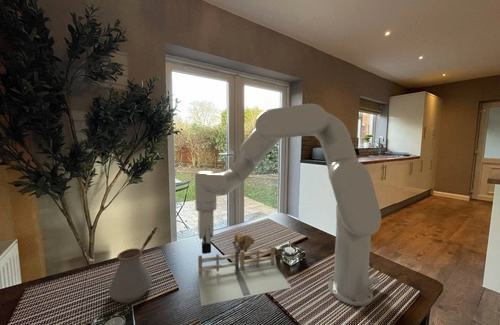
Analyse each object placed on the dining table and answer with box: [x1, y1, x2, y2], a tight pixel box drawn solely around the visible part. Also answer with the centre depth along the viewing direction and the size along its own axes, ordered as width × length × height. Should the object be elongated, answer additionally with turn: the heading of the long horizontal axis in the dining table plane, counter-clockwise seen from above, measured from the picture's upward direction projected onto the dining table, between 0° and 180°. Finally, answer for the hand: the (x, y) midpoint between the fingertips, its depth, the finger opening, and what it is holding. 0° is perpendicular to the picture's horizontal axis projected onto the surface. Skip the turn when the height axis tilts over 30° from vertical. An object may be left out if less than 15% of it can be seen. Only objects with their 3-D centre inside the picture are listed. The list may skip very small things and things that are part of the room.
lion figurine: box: [231, 232, 256, 253], centre depth 91 cm, size 15×5×9 cm, turn 35°
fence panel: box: [197, 250, 240, 275], centre depth 75 cm, size 14×1×6 cm, turn 107°
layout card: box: [197, 260, 292, 307], centre depth 73 cm, size 28×18×1 cm, turn 107°
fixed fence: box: [239, 245, 276, 270], centre depth 79 cm, size 13×1×7 cm, turn 107°
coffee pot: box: [108, 226, 161, 304], centre depth 70 cm, size 21×12×15 cm, turn 174°
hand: (206, 252), depth 81 cm, fingers closed
